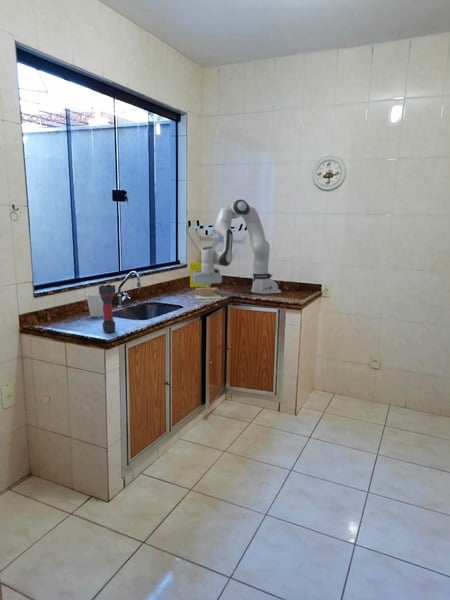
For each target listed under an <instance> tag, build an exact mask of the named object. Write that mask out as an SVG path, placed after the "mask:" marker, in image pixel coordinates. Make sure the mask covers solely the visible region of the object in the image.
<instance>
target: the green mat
mask: <svg viewBox="0 0 450 600" xmlns="http://www.w3.org/2000/svg"><path fill="white" fill-rule="evenodd" d="M194 298H195V300H217V299H218V300H219V299H220V300H221V299H223V297H222V296H221V295H220V294H219V295H213V296H200V295H196V294H195V295H194Z"/></svg>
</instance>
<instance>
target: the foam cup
mask: <svg viewBox="0 0 450 600" xmlns="http://www.w3.org/2000/svg"><path fill="white" fill-rule="evenodd" d="M86 301H87V305H88V310H89V314H90V315H89V316H90V317H91V316H93V317H95V316H102V317H103V316H104V307H103V301H102V299H101V296H100V294H99V292H89V293H86Z"/></svg>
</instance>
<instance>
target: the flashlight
mask: <svg viewBox="0 0 450 600" xmlns="http://www.w3.org/2000/svg"><path fill="white" fill-rule="evenodd" d="M98 293H99V294H100V296H101V299H102V301H103V322H102V329H103V330H104V331H105V332H107V333H109V332H112V333H114V332H113V331H115V332H116V321H114V317H113V315H114V313H113V300H114V298H115V296H116V285H115V284H113V285H111V284H107V285H103V284H101V285H99V286H98ZM103 330H102V331H103ZM104 331H103V332H104ZM105 332H104V333H105Z"/></svg>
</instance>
